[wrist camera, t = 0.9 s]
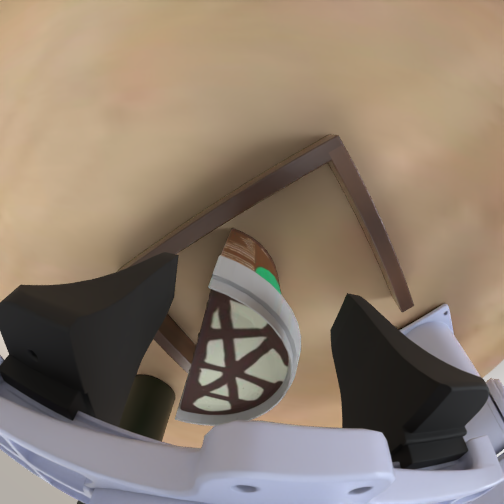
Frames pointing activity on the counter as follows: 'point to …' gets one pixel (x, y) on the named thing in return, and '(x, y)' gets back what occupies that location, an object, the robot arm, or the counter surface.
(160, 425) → the wine bottle
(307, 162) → the brown frame
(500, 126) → the counter surface
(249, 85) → the counter surface
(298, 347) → the food container
